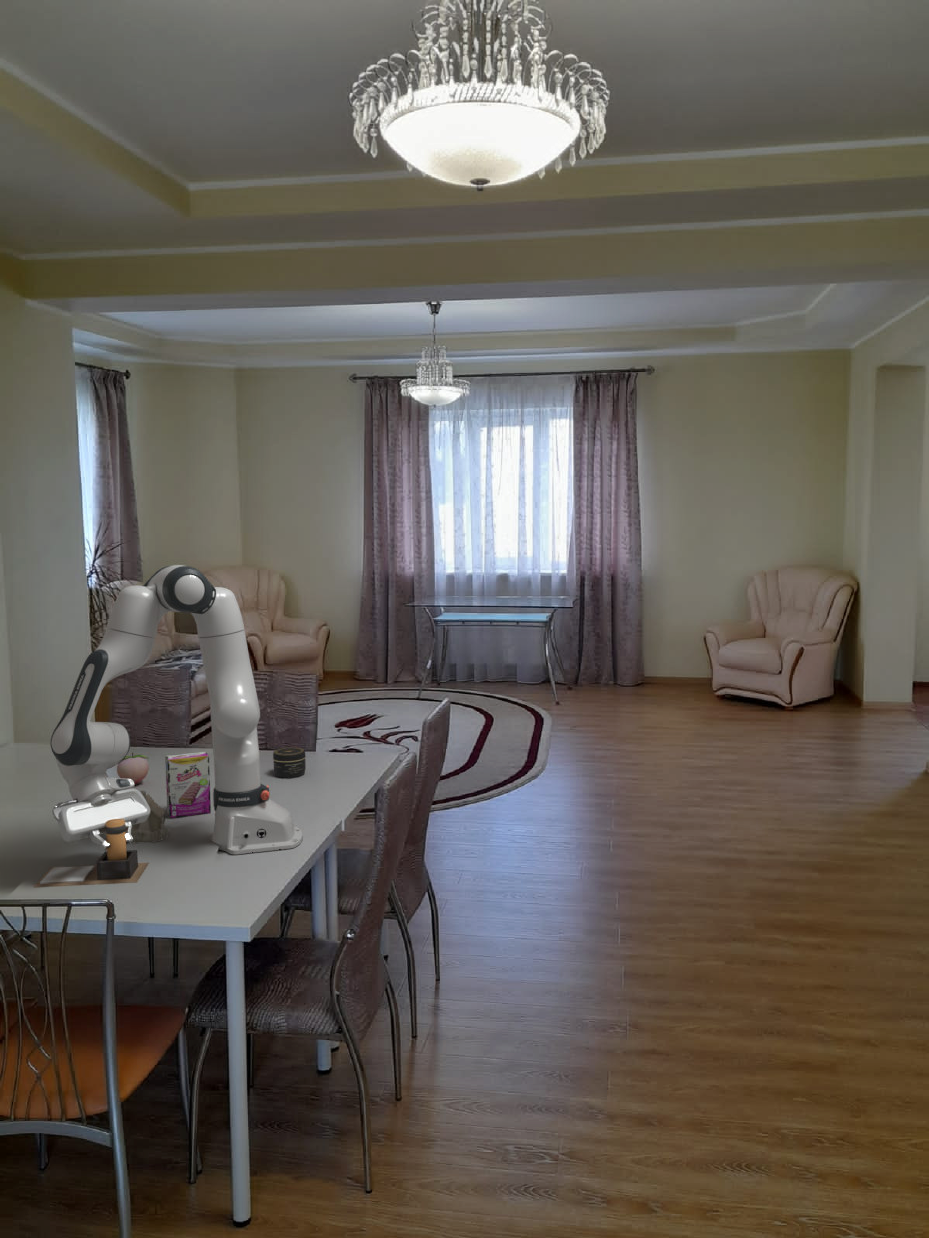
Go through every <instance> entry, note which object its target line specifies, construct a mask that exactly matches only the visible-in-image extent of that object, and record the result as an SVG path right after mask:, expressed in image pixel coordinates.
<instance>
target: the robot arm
mask: <svg viewBox="0 0 929 1238" xmlns="http://www.w3.org/2000/svg"><path fill="white" fill-rule="evenodd" d="M169 612H173V613H187V614H191V615H192V618H193V619H194V622H195V624H196V632H197V636H198V641H199V647H200V654H201V661H202V666H203V670H204V676H205V680H206V686H207V690H208V697H209V702H210V705H209V706H210V722H211V723H210V724H211V739H212V752H213V769H214V770H213V771H214V788H213V792H212V801H213V802H212V803H213V808H214V811H215V813H214V826H213V833H212V837H211V841H212V842H213V843H215V844H217V845H219V847H218V849H217V850H218V851H219V850H220V851H223V852H227V853H228V854H231V855H242V854H251V853H252V852H253V853H260V852H270V851H280V850H279V849H281V850H287V849H288V850H289V849H294V848H296V847H297V846H300V844H302V841H303V839H304V834H303V830H302V829H301V828H300V827H298V826H294V821H293V818H292V817H293V816H292V815H291V812H290V811H289V810H288V809H286V808H284V807H283V806H281V805H280V804H279V803H277V802H275V801H274V800H272V799H271V798H270V794H271V793H270V787H269V785H268V784H267V785H264V784H263V783H261V760H260V757H261V756H260V749H259V737H258V724H259V721H260V719H261V709H260V704H259V703H260V702H259V699H258V694H257V689H256V684H255V678H254V674H253V670H252V666H251V665H252V664H251V660H250V654H249V649H248V648H249V647H248V641H247V636H246V630H245V626H244V624H245V623H244V620H243V616H242V612H241V609H240V605H239V602H238V600H237V597H236V595H235V594H234V592H233V591H232V590H231V589H229V588H226V587H222V586H221V587H220V586H214V585H213V584H212V583H211V581H209V579H208V578H207V576H205V574H204V573H202V571H200V570H199V569H198V568H195V567H192V566H189V565H184V564H173V565H168V566H164V567H162V568H159V570H156V572H155V573H154V574H153V575H151V576H150V578H149V579H148V580H147V581H146V582H145V583H144V584H143V585H138V584H137V585H135V584H134V585H128V586H125V587H124V588H122V589H121V590H120V591H119V593H118V595H117V597H116V600H115V602H114V604H113V607H112V609H111V612H110V614H109V617H108V622H107V625H106V629H105V631H104V632H105V633H104V635H103V637H102V640H101V641H100V643H99V645H98V646H97V648H96V649H95V650H94V651H92V652H91V653H90V654H89V655H88V656H87V658H85V661H84V663H83V665H82V668H81V669H80V672H79V674H78V677H77V679H76V681H75V684H74V687H73V690H72V691H71V695H70V697H69V699H68V702H67V705H66V707H65V708H64V711H63V714H62V716H61V718H60V720H59V722H58V723H57V724H56V727H55V728H54V730H53V732H52V735H51V738H50V749H51V753H52V754H53V756H54V757H55V761H56V764H57V767H58V769H59V771H60V775H61V776H62V778H63V779H64V780H65V782H66V784H68V790H69V791H68V792H69V793H70V795H71V799H70V800H68V801H64V802H58V803H56V805H55V806H53V807H52V815H53V818H54V819H55V821H57V826H58V829H59V833H60V835H61V838H62V840H63V841H64V842H67V843H71V842H75V841H78V840H82V839H85V838H90V840H91V841H92V842H93V843H94V844H96V845H98V846H99V847H100V850H101V852H105V851H107V850H108V849H109V848H110V843H109V841H108V839H107V838H106V839H104V838H103V837H101V836H100V834H104V833H105V834H106V822H107V821H108V820H112V819H124V820H125V830H126V833H125V836H126V845H129V844H132V843H131V842H132V841H133V838H132V836H131V834H130V833H131V827H132V825H135V824H138V823H142V822H145V821H146V820H147V818H148V817H149V815H150V807H149V805H148V803H147V801H146V800H145V798H144V797H143V795H142V794H141V792H140V791H141V790H138V789H136V788H134V787H135V785H136V784H134V781H133V780H132V779H124V778H120V777H119V778H118V777H113V776H109V775H108V774H107V770H109V769H111V768H114V767H115V766H116V765H118V763H119V762H120V761H122V760H123V759H124V758H125V757H126V756H127V755H128V754H129V752H130V748H131V737H130V734H129V731H128V730H127V728H126V727H125V725H123V724H121V723H116V722H109V721H108V722H107V721H91V720H92V717H93V715H94V711H95V709H96V707H97V704H98V702H99V700H100V696H101V694H102V691H103V689H104V687H106V685H107V684H108V683H109V682H110V681H112V680H113V679H116V678H117V677H120V676H122V675H124V674H128V673H131V672H134V671H136V670H138V669H140V668H142V667H143V666H144V665H145V664H146V663H147V662H148V661H149V660H150V657H151V655H152V653H153V651H154V646H155V641H156V637H157V633H158V629H159V624H160V622H161V620H162V619H163V617H164V616H165V615H166V614H167V613H169Z"/></svg>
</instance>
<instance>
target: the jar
mask: <svg viewBox="0 0 929 1238" xmlns="http://www.w3.org/2000/svg"><path fill="white" fill-rule="evenodd" d="M306 758H307V757H306V751H305V749H304V748H302V747H282V748H279V749H276V750H274V751H273V752H272V760H273V762H272V763H273V772H274V775H275V777H277V778H278V777H279V779H284V780H285V779H288V780H289V779H296V778H299V777H300V778H301V777H302V776H304V774H306V770H307V769H306V764H307V763H306Z"/></svg>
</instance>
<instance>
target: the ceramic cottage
mask: <svg viewBox="0 0 929 1238" xmlns="http://www.w3.org/2000/svg"><path fill="white" fill-rule="evenodd" d="M139 791H140V792H141V794H142V795H143V797H144V798H145V800H146V801H147V803H148V805H149V807H150V815H149V817H148V818H147V820H146V821H145V822H142V823H138V824H135V825H132V827H131V833H130V834H131V836H132V838H133V841H132V842H149V843H155V842H154V841H156V842H159V841H158V840H160V841H162V840H161V839H163V838H165V839H166V838H168V837H169V835H170V831H169V828H168V827H167V826H165V820H166V818H165V817H164V815H165V813H166V811H165V810H164V809H163V808H162V807H161V806H160V805H159V804H158V803H157V802H155V800H154V798H153V797H152V796H151V795H150V793H146V790H139ZM125 833H126V830H125ZM163 840H164V839H163Z"/></svg>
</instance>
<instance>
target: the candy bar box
mask: <svg viewBox="0 0 929 1238" xmlns="http://www.w3.org/2000/svg"><path fill="white" fill-rule="evenodd" d="M209 755H210V754H208V753H207V752H206V751H200V752H191V753H190V752H189V753H180V754H172V755H171V754H170V755H165V757H164V758H165V759H164V760H165V783H166V785H165V787H166V811H167V812H166V813H167V816H168V817H169V819H176V818H183V817H188V816H189V817H190V816H196V815H197V816H198V815H205V814H211V811H212V809H211V808H212V806H211V805H212V804H211V781H210V780H211V779H210V778H211V777H210V776H211V775H210V774H211V773H210V756H209Z"/></svg>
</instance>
